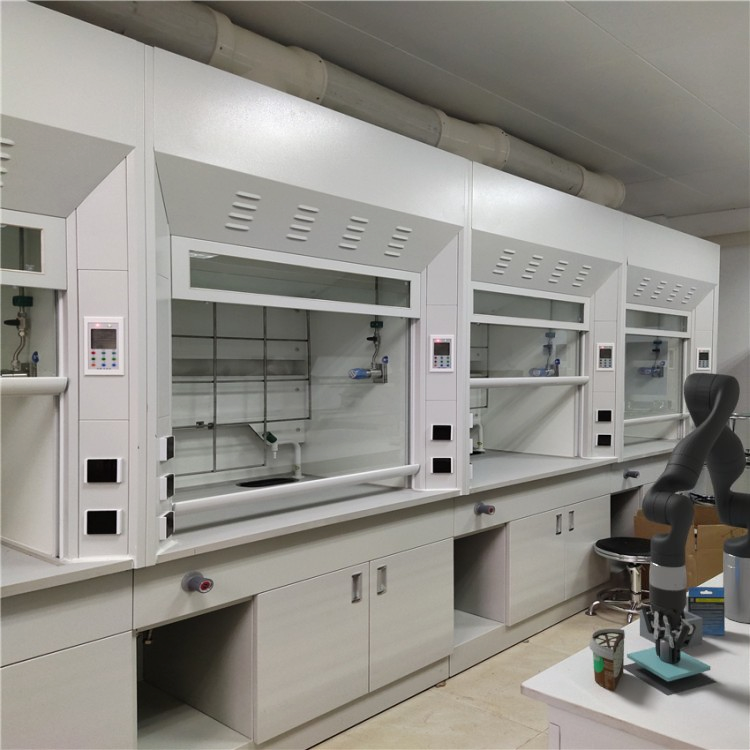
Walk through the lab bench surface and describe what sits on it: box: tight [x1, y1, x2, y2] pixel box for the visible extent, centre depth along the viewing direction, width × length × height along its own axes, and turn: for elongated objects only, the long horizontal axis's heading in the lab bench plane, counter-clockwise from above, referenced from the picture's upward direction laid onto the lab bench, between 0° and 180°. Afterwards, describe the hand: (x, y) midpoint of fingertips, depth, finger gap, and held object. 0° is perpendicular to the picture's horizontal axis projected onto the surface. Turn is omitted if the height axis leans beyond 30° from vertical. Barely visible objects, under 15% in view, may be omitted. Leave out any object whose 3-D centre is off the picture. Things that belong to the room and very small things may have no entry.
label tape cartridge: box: [684, 586, 726, 636], centre depth 175 cm, size 9×4×12 cm, turn 84°
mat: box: [623, 662, 718, 696], centre depth 152 cm, size 14×14×1 cm
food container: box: [588, 628, 626, 692], centre depth 150 cm, size 12×6×10 cm, turn 149°
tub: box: [639, 609, 703, 650], centre depth 169 cm, size 10×10×7 cm
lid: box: [626, 637, 711, 681], centre depth 152 cm, size 12×12×5 cm
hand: (667, 658), depth 152 cm, fingers closed on lid, 3 cm apart
